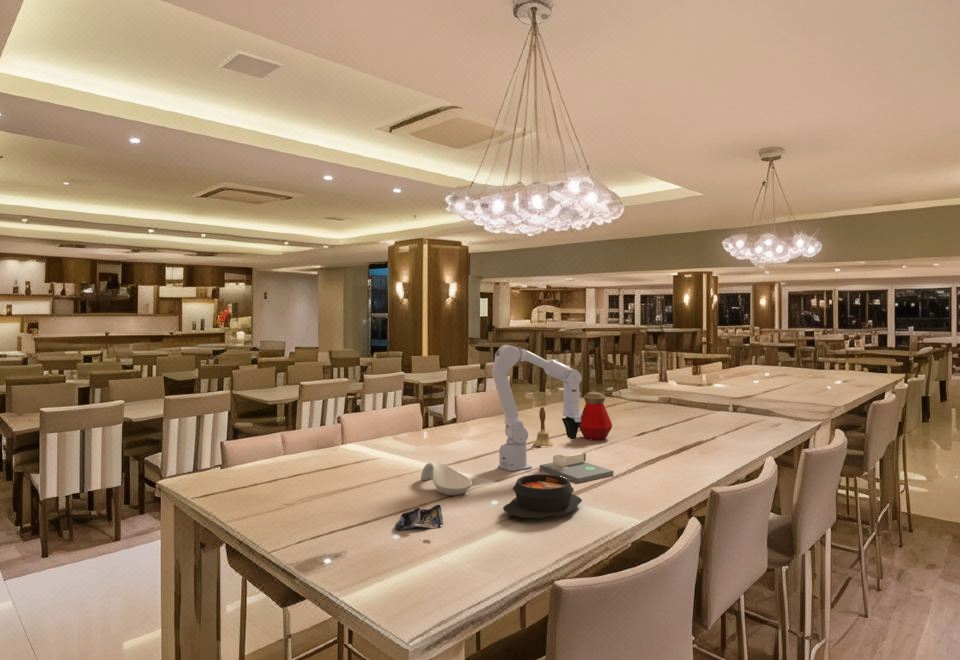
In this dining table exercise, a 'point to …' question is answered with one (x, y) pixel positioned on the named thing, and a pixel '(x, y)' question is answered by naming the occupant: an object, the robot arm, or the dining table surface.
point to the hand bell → (542, 432)
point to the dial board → (578, 471)
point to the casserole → (542, 497)
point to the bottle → (595, 417)
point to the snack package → (420, 518)
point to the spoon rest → (446, 478)
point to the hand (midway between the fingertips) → (571, 438)
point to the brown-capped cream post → (568, 459)
